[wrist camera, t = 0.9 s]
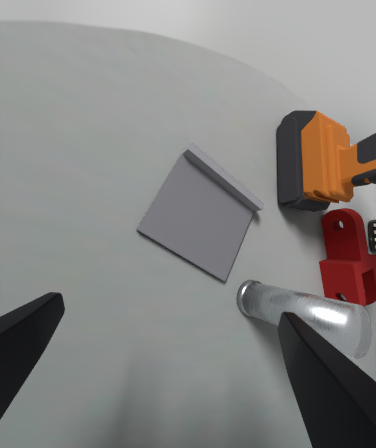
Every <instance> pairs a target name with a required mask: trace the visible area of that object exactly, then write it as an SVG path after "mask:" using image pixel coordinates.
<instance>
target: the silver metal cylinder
mask: <svg viewBox="0 0 376 448" xmlns="http://www.w3.org/2000/svg"><path fill="white" fill-rule="evenodd" d="M237 305H238V308H239V310H240V311H241V312H242V313H243V314H245V315H247V316H249V317H256V318H259V319H261V320H264V321H266V322H268V323H271V324H273V325H276V326H278V324H279V321H280V317H281V314H282V312H284V311H285V312H293V313H295V314H296V315H297V316H299V317H300V318H301V319H302V320H303V321H305V322H306V323H307V324H308V325H309V326H310V327H312V328H313V329H314V330H315V331H316V332H318V333H319V334H320V335H321V336H322V337H323V338H325V339H326V340H327V341H328V342H329V343H331V344H332V345H333V346H334V347H335V348H337V349H338V350H339V351H340V352H341V353H344V354H346V355H349V356H351V357H353V358H356V359H359V358H361V357H363V356H364V355H365V354H366V352H367V350H368V348H369V345H370V341H371V334H372V328H371V321H370V317H369V314H368V312H367V310H366V309H365V308H364V307H363V306H362V305H358V304H353V303H349V302H344V301H339V300H335V299H330V298H325V297H321V296H316V295H311V294H307V293H302V292H297V291H293V290H288V289H284V288H279V287H274V286H270V285H265V284H262V283H260V282H258V281H254V280H248V281H246V282H244V283H243V284H242V285H241V286H240V288H239V290H238V293H237Z"/></svg>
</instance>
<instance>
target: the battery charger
mask: <svg viewBox="0 0 376 448" xmlns="http://www.w3.org/2000/svg"><path fill="white" fill-rule="evenodd" d="M369 242H370V248H371V251H373V252H374V253H376V220H371V221H370V222H369Z"/></svg>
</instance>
